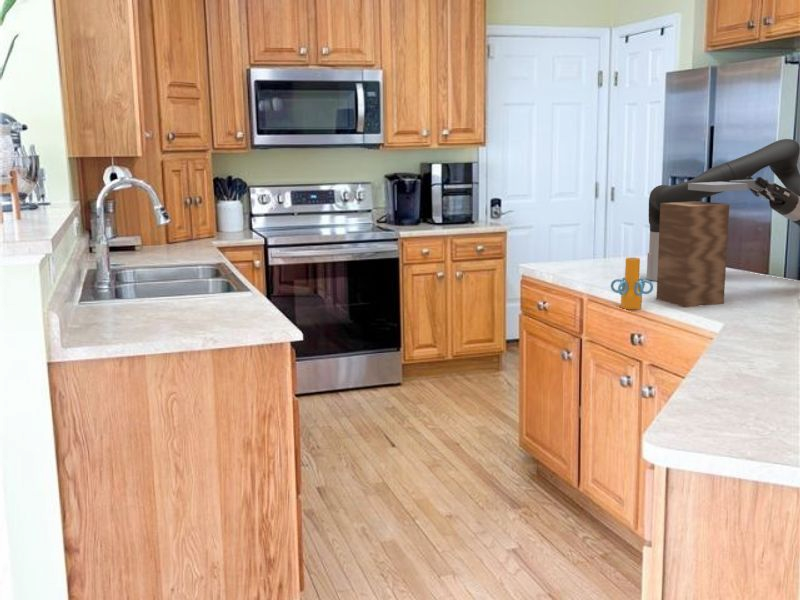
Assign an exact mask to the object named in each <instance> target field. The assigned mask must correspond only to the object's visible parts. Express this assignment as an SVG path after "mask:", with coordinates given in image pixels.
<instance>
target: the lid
mask: <svg viewBox="0 0 800 600" xmlns="http://www.w3.org/2000/svg"><path fill="white" fill-rule="evenodd" d="M756 179H757V178H756ZM756 179H755V178H753V179H751V180H731V181H729V182H703V183H688V190H696V191H708V192H721V193H724V192H736V191H739V192H741V191H748V190H749V189H756V188H762V187H760V186H759V185H757V184H756V183H755V181H756ZM763 179H764V178H763ZM764 180H765V181H767V182H769V179H766V178H765V179H764ZM723 191H724V192H723Z"/></svg>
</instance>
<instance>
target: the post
mask: <svg viewBox="0 0 800 600" xmlns="http://www.w3.org/2000/svg"><path fill="white" fill-rule="evenodd" d="M729 221H730V204H729V203H719V202H708V201H702V200H701V201H695V202H675V203H660V226H659V250H658V273H657V281H656V300H659V301H663V302H666V303H670V304H672V305H675V306H680V307H683V308H690V306H692V307H700V306H699V305H703V306H710V305H711V306H712V304H713V305H721V304H722V305H723V304H724V303H725V287H726V286H725V285H726V271H727V253H728V235H729Z"/></svg>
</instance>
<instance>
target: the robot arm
mask: <svg viewBox="0 0 800 600" xmlns="http://www.w3.org/2000/svg"><path fill="white" fill-rule="evenodd" d="M799 157H800V144H799V142H798V141H796V140H795V139H792V138H783V139H779V140H776V141H773V142H772V143H770V144H768V145H766V146H763V147H762V148H760V149H759V148H758V149H757V150H755V151H752V152H751V153H748V154H745V155H743V156H742V155H741V156H740V157H737V158H735V159H731V160H729V161H727V162H724V163H721V164H718V165H716V166H713V167H711V168H709V169H707V170H705V171H703V172H702V173H700V174H699V175H697V176H696V177H694V178H692V179H690V180H687V181H684V182H680V183H677V184H672V185H666V184H661V185H657V186H655V187H654V188H653V189H652V190H651V191H650V193H649V197H648V223H649V240H648V241H649V245H648V252H647V259H646V261H647V264H646V265H647V266H646V280H649V281H654V282H657V273H658V250H659V226H660V203H675V202H693V201H696V200H698V199H701V198H702V199H706V198H709V197H711V196H714V195H718V194H721V193H724V192H725V191H723V192H708V191H696V190H688V183H703V182H729V181H731V180H751V179H754V178H753V176H754V175H755V174H757V173H759V171H761V170H763V169H765V168H767V167H769V169H770V170H771V172H773V174H774V175H775V176H776V177H777V178H778V179H779V181H780V182H781V183H782V184H783V186H784V187H783V186H781V185H779V184H778V183H776V182H774V183H772V182H771V181H768V182H767V181H765V180H766V179H765V180H764V178H763V177H762V176H757V177H756V181H755V183H756V184H757V185H759V186H760V187H762V188H756V189H748V190H750V192H751V193H752V194H753V195H754V196H756V197H758V198H759V197H761V196H762V197H763V198H764V199H765V200H767V201H768V203H769V207H770V208H771V209H772V210H773V211H775V212H777V213H778V214H780V215H781V216H782V217H784V218H785V219H788V220H790V221H792V222H793V223H794V224H795V225H797V226H799V227H800V171H799V169H798V162H799ZM702 199H701V200H702Z"/></svg>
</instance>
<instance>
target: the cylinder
mask: <svg viewBox="0 0 800 600" xmlns="http://www.w3.org/2000/svg"><path fill="white" fill-rule="evenodd" d="M640 262H641V259H640V257H636V256H635V257H633V256H632V257H631V256H630V257H625V270H624V271H625V273H624V277H622V279H621V278H615V279H613V280H612V282H611V283H610V289H611V291H612V292H614V293H617V294H619V295H620V308H621V309H623V310H631V311H634V310H636V311H637V310H641V309H642V301H643V294H644V295H649V294H650V293H652V292H653V291H654V284H653V282H652V280H647V279H644V278H643V277H640V267H641V266H640V264H641V263H640ZM618 282H619V284H618V287H617V289H616V288H615V287H614V285H615V283H618ZM647 283H648V284H649V286H650V288H649V290H647V291H645V290H644V288H645V284H647Z"/></svg>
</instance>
